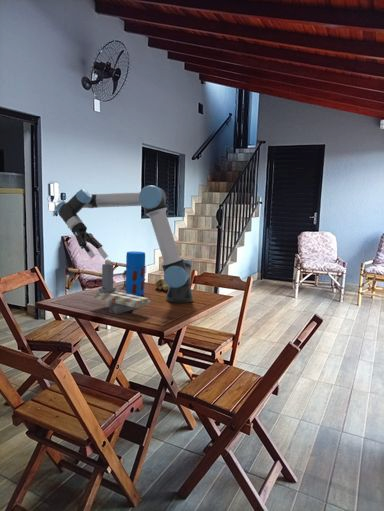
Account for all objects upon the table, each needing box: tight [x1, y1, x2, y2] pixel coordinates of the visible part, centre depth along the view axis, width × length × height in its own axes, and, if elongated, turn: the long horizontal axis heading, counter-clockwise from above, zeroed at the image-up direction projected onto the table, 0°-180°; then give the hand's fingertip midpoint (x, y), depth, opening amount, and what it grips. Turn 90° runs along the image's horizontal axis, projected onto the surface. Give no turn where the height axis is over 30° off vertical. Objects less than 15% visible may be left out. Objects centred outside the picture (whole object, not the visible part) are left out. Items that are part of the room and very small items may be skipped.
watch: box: [122, 269, 126, 287], centre depth 240 cm, size 6×8×11 cm
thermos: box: [125, 250, 146, 297], centre depth 216 cm, size 11×11×25 cm
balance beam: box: [93, 290, 151, 315], centre depth 181 cm, size 28×12×8 cm, turn 57°
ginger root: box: [154, 278, 170, 291], centre depth 236 cm, size 16×16×8 cm
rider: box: [98, 258, 117, 293], centre depth 185 cm, size 4×8×18 cm, turn 147°
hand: (100, 257), depth 191 cm, fingers open, 13 cm apart
